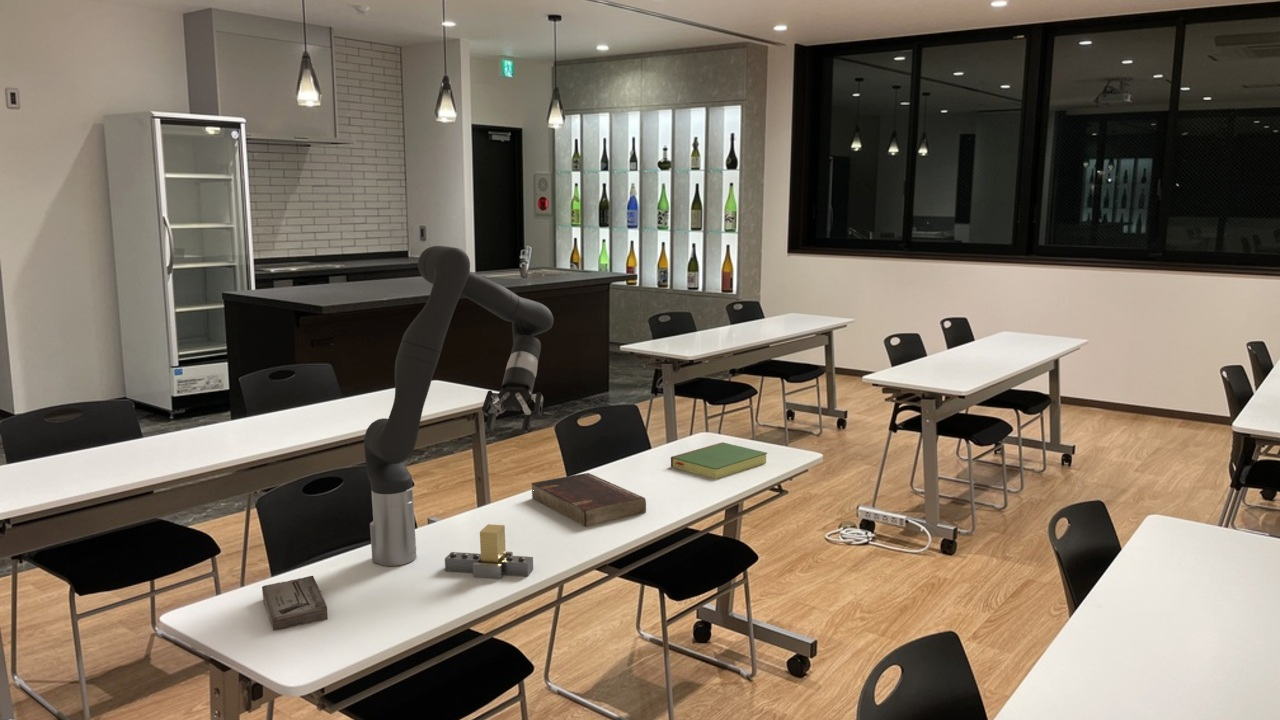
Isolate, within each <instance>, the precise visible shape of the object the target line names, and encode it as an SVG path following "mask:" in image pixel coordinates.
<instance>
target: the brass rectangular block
mask: <svg viewBox="0 0 1280 720" xmlns="http://www.w3.org/2000/svg"><path fill="white" fill-rule="evenodd" d="M505 527H506V526H505V525H504V524H502V525H501V524H487V525H486V526H484V527H483V528H482V529H481V530H480V531H479V542H480V543H479V544H480V546H479V547H480V554H481V563H489V564H502V561H503V560H504V559H505V558H506V552H507V550H506V533H505V532H506V531H505V530H506V529H505Z"/></svg>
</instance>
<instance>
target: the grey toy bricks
mask: <svg viewBox="0 0 1280 720" xmlns="http://www.w3.org/2000/svg"><path fill="white" fill-rule="evenodd" d="M444 569H445V570H444V572H455V573H469V574H472V576H473V578H480V579H481V578H483V579H496V580H497V579H498V580H500V579H502V578H503V576H512V577H513V576H515V577H516V576H517V577H529V576H530V575H531V573H532V572H533V571H534V557H533V556H527V555H526V556H525V555H524V556H523V555H514V553H513V551H506V558H505V559H504V560H503V561H502V564H489V563H481V553H477V552H475V553H474V552H473V553H472V552H458V551H457V552H456V551H451V552H449V554H448V555H447V556H446V557H445V558H444Z"/></svg>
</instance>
